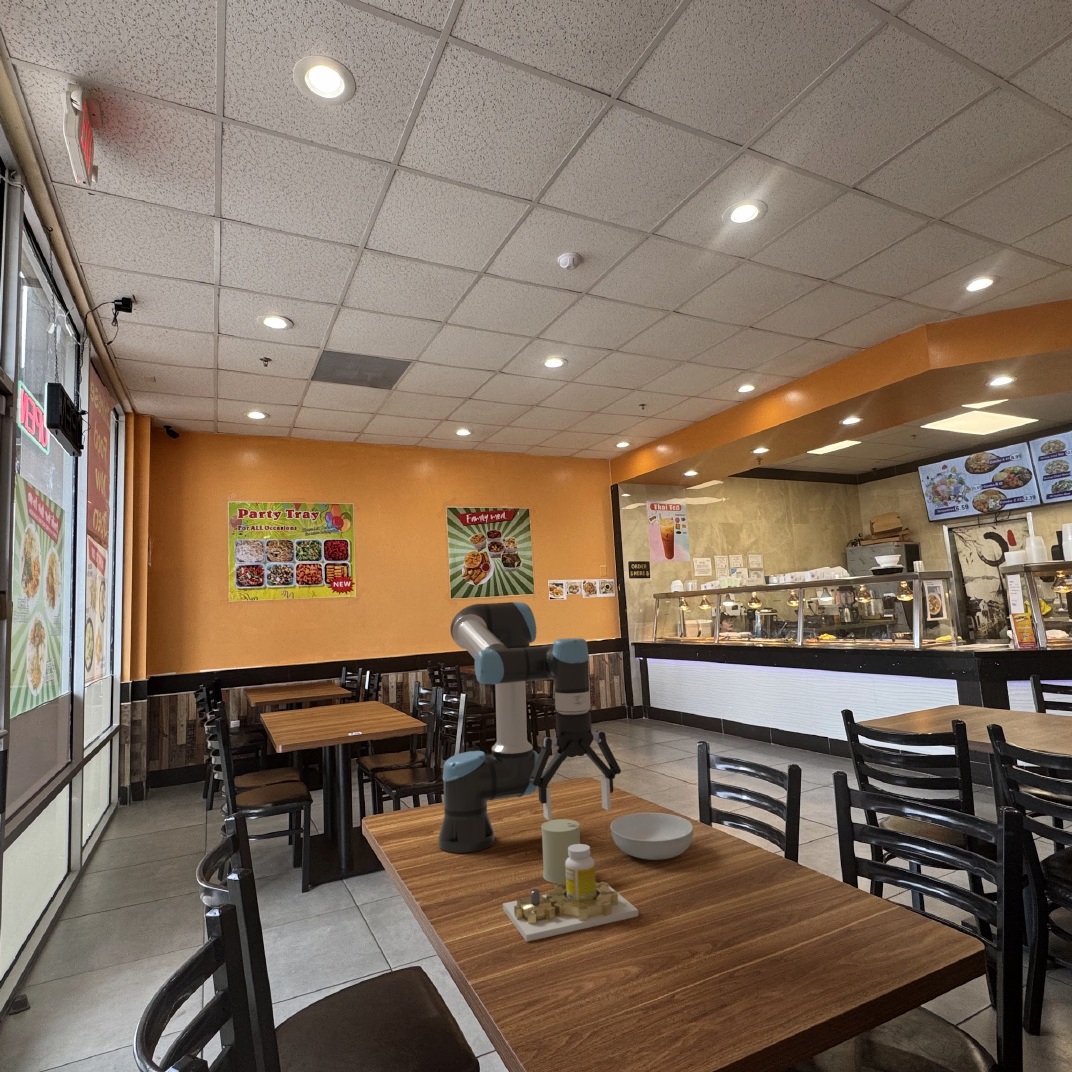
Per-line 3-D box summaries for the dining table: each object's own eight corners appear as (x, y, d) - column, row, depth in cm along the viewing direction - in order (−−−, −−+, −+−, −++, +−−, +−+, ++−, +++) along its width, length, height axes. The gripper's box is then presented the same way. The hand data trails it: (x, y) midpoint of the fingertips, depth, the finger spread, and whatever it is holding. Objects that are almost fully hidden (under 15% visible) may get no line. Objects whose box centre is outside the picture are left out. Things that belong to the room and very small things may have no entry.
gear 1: (509, 909, 137) (508, 887, 137) (548, 901, 140) (547, 879, 140) (522, 927, 129) (521, 903, 130) (563, 918, 132) (562, 894, 133)
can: (579, 885, 150) (576, 830, 152) (539, 883, 152) (537, 829, 153) (584, 869, 159) (582, 817, 161) (547, 867, 161) (544, 816, 162)
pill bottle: (599, 898, 140) (597, 843, 141) (592, 910, 134) (589, 853, 135) (571, 895, 142) (569, 841, 143) (563, 907, 136) (560, 851, 137)
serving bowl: (601, 864, 162) (600, 835, 162) (623, 835, 181) (622, 809, 182) (687, 874, 154) (685, 843, 155) (700, 842, 173) (699, 815, 174)
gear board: (503, 909, 140) (502, 903, 140) (605, 888, 148) (605, 882, 148) (526, 941, 126) (526, 935, 126) (638, 916, 134) (638, 909, 134)
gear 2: (538, 896, 142) (537, 887, 142) (598, 884, 147) (597, 875, 147) (563, 925, 129) (563, 914, 129) (629, 911, 134) (628, 900, 134)
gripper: (524, 719, 134) (528, 828, 132) (633, 708, 143) (638, 809, 141) (512, 714, 141) (516, 817, 139) (617, 703, 150) (621, 800, 148)
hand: (577, 813), depth 140 cm, fingers open, 13 cm apart
